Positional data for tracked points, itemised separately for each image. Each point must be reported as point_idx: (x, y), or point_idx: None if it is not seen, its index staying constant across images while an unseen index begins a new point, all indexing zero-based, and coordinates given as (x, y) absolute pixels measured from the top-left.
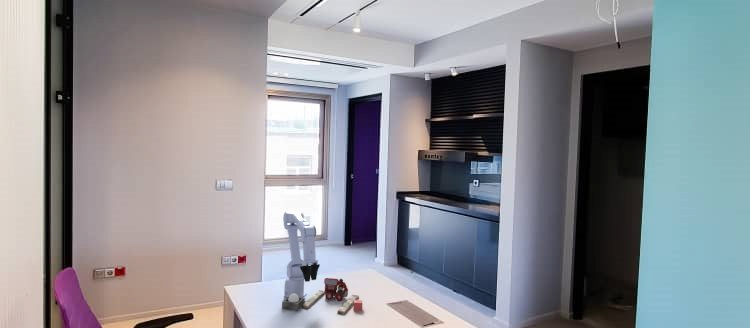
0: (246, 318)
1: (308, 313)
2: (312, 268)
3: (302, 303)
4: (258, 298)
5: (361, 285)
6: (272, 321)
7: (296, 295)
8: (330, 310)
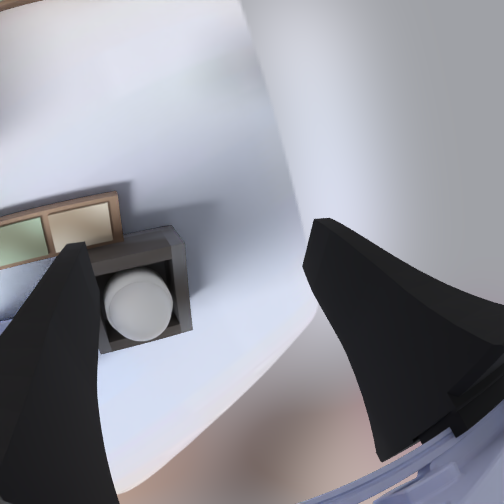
0: (302, 331)
1: (173, 150)
2: (84, 450)
3: (104, 248)
4: (137, 425)
5: None
6: None
7: (145, 304)
8: (76, 48)
